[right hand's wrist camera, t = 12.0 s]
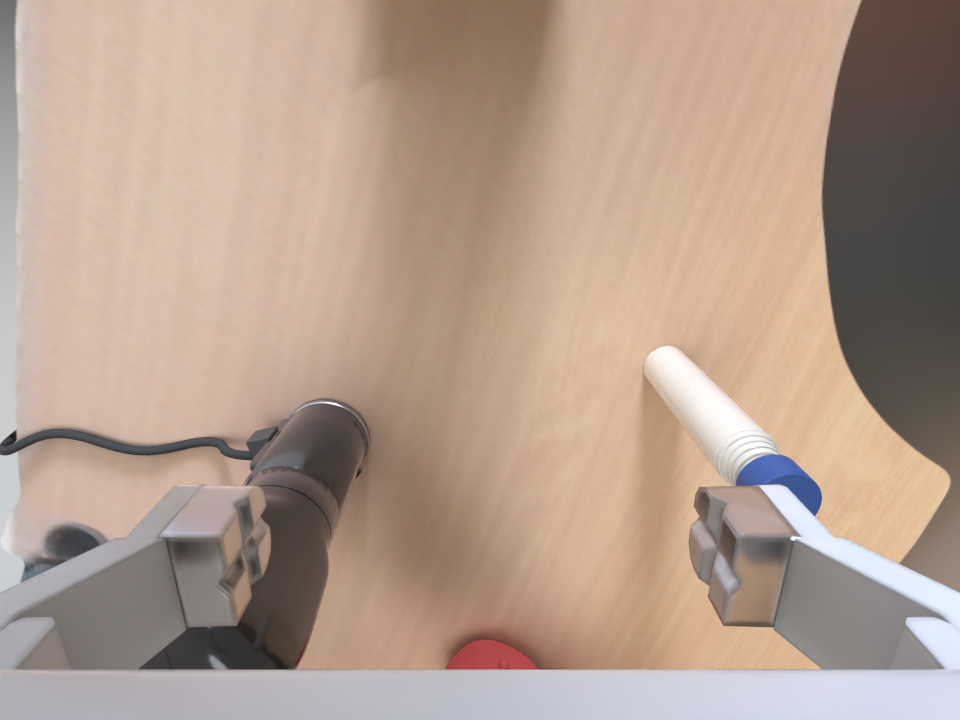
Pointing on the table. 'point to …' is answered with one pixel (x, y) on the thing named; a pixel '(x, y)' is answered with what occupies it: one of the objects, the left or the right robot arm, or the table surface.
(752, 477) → the cap
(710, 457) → the bottle
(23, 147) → the table surface
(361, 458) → the left robot arm
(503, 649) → the toy
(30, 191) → the table surface
